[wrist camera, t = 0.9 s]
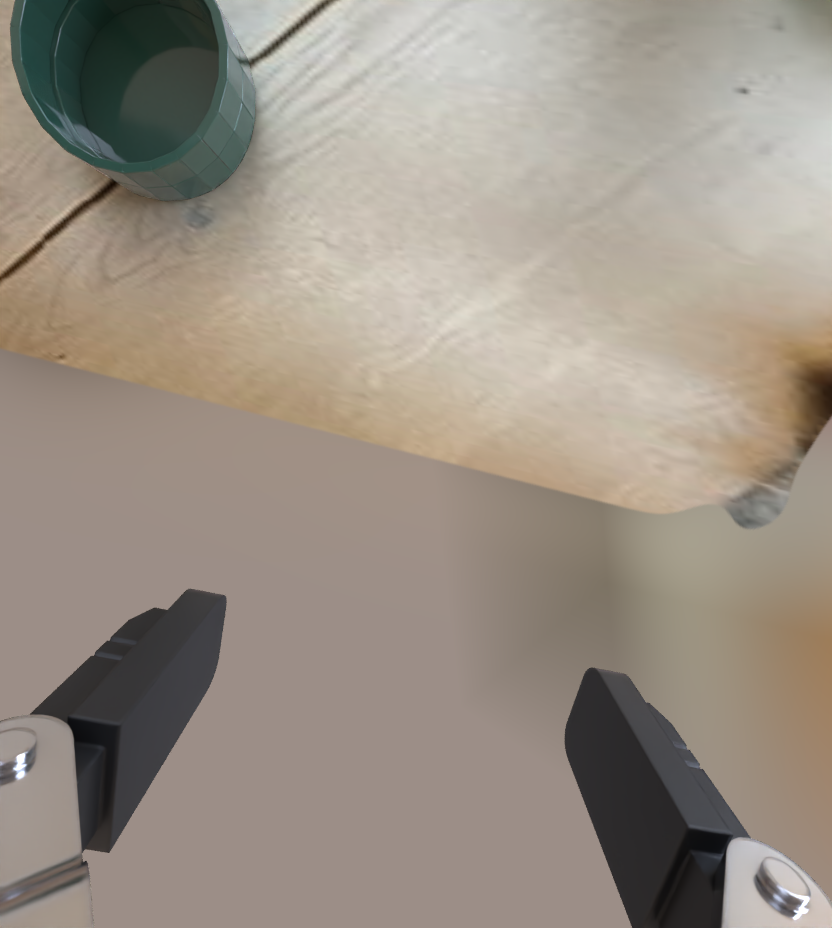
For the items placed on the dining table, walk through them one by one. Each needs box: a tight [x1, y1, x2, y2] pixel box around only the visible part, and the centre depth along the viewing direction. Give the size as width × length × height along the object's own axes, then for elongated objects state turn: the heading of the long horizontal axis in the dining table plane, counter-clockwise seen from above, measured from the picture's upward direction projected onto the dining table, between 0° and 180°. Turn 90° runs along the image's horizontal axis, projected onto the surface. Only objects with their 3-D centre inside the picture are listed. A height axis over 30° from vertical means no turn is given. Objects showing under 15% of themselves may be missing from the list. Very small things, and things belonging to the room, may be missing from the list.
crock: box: [10, 0, 255, 201], centre depth 31 cm, size 13×13×6 cm
